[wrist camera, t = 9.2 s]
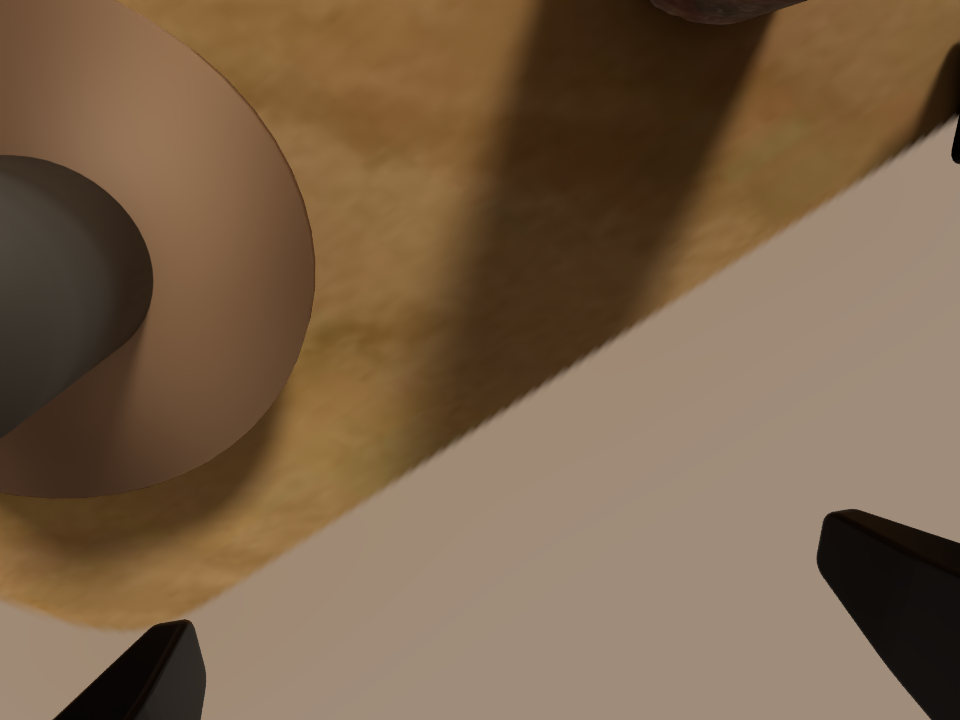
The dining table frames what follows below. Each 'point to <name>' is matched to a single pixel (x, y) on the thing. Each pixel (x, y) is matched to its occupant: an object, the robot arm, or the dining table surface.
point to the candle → (721, 9)
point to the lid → (135, 254)
